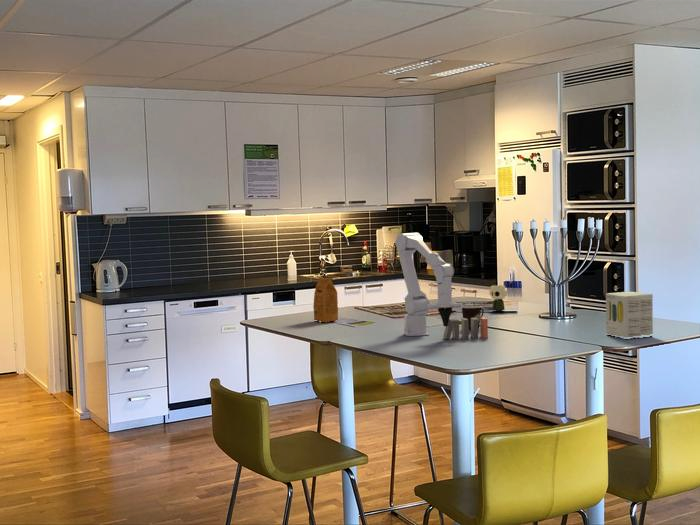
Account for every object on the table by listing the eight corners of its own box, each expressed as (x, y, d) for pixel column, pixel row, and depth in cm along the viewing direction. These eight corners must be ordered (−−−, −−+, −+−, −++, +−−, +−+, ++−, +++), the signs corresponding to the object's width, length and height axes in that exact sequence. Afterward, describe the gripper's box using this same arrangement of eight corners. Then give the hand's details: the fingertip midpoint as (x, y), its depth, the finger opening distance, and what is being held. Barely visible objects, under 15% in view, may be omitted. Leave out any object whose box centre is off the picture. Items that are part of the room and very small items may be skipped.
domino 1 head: (445, 338, 344) (450, 320, 344) (443, 337, 349) (447, 318, 349) (449, 339, 345) (454, 321, 344) (447, 338, 350) (452, 319, 349)
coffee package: (328, 319, 418) (327, 275, 416) (340, 322, 407) (339, 276, 406) (310, 321, 413) (309, 276, 412) (322, 324, 402) (321, 278, 401)
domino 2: (464, 339, 345) (464, 319, 345) (461, 337, 350) (461, 318, 350) (468, 339, 345) (468, 319, 345) (465, 337, 350) (465, 318, 350)
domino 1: (455, 339, 345) (454, 320, 344) (452, 337, 350) (452, 318, 349) (459, 339, 345) (459, 320, 345) (456, 337, 350) (456, 318, 349)
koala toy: (485, 311, 430) (485, 286, 429) (494, 309, 434) (493, 284, 433) (502, 312, 421) (502, 287, 421) (511, 311, 426) (511, 285, 425)
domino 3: (474, 338, 346) (473, 319, 345) (471, 336, 351) (470, 317, 350) (478, 338, 346) (477, 319, 345) (475, 336, 351) (474, 317, 350)
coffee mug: (466, 331, 366) (466, 308, 365) (459, 328, 374) (458, 306, 374) (491, 329, 369) (490, 306, 368) (483, 326, 377) (482, 304, 377)
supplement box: (605, 335, 343) (604, 293, 342) (631, 333, 348) (631, 291, 347) (626, 340, 331) (626, 296, 330) (653, 337, 335) (653, 293, 334)
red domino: (483, 338, 346) (483, 319, 346) (480, 336, 351) (480, 317, 350) (487, 338, 346) (487, 318, 346) (484, 336, 351) (484, 317, 351)
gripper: (429, 295, 341) (430, 328, 342) (464, 293, 342) (464, 326, 343) (425, 293, 348) (426, 325, 349) (460, 291, 349) (461, 324, 350)
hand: (445, 326), depth 347 cm, fingers closed
